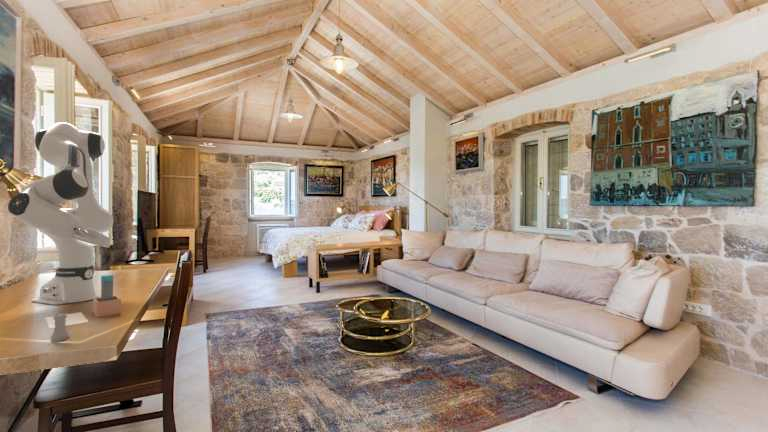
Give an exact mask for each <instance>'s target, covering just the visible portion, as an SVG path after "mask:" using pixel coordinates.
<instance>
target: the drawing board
mask: <svg viewBox="0 0 768 432" xmlns="http://www.w3.org/2000/svg"><path fill="white" fill-rule="evenodd" d="M66 315H67V317H66V319H65V320H66V322H65V325H66V327H68V326H71V325H73V326H74V325H79V324H84V323H85V324H87V323H89V320H88V319H87V318H86V317H85V315H84V314H83V313H82V311H80V312H72V313H67V314H66ZM54 316H55V315H54ZM54 316H47V317H45V321H46V323H47V325H48V328H49V329H55V324H54V322H55V320H54V319H53V317H54Z"/></svg>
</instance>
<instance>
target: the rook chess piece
mask: <svg viewBox="0 0 768 432" xmlns="http://www.w3.org/2000/svg"><path fill="white" fill-rule="evenodd" d="M66 317H67V315H66V312H61V313H55V314H54V317H53V319H54V320H55V322H54V324H55V328H53V329H54V330H53V333H52V334H51V336H50V338H51V339H50V342H51V343H54V344H55V343H62V342H66V341H67V340H65V339H68V338H69V337H70V332H69V331H68V329H67V326H66V325H65V322H66V320H65V319H66Z"/></svg>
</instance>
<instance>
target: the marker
mask: <svg viewBox="0 0 768 432" xmlns="http://www.w3.org/2000/svg"><path fill="white" fill-rule="evenodd" d="M114 277H115V275H114V274H103V275H101V276H100V286H101V287H100V288H101V289H100V292H101V293H100V298H101V301H107V300H113V296H114V280H115V278H114Z"/></svg>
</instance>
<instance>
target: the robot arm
mask: <svg viewBox="0 0 768 432" xmlns="http://www.w3.org/2000/svg"><path fill="white" fill-rule="evenodd" d="M34 145H35V147H36V150H37V151H38V153H39V155H40V157H41V158H42V159H43V160H44V161H45V162H47V163H48V164H50V165H52V166H56V167H59V171H57V172H54V173H53V174H52V173H51V174H50V175H47V176H45V177H43V178H40V179H37V180H34V181H33V182H31V183H28V184H25V185H24V186H23V187H22V189H21V192H19V193H16V194H15V195H14V196H12V197H11V199H10V200H9V202H8V204H7V209H8V212H9V213H10V215H11V216H12V217H14V218H15V219H16V220H18V221H20V222H21V223H23V224H25V225H28V226H30V227H32V228H34V229H37V230H38V231H39V232H40V233H41V234H43V235H45V236H47V237H49V238H50V239H51V241H53V243H54V244H55V246H56V248H57V251H58V266H59V267H57V268H55V269H52V270H53V273H55V274H54V276H53V277H52V278H50V279H49V280H48V281H47V282H45V283H44V284H43V285H42V286H41V287H40V289H39V296H37V297H35V298H32V299H31V303H39V304H46V305H55V306H57V305H65V304H73V303H77V302H78V303H79V302H85V301H90V300H93V299H94V298H99V297H98V294H97V290H96V286H95V279H94V273H95V266H94V263H93V260H94V259H93V258H94V257H93V254H94V253H93V248H92V246H91V245H95V246H98V247H102V248H103V247H104V248H107V249H108V248H110V247H111V246H112V245H111V244H112V243H110V242H109V241H110V238H109V236H107V235H105V234H103V233H106V232H109V231H110V230H111V229H112V227H113V225H114V217H113V215H112V213H111V212H110V211H109V210H107V209H106V208H104V207H103V206H102V205H101V204H100V203H99V202H98V201H97V199H96V196H95V193H94V187H93V186H94V185H93V183H94V182H93V178H94V177H93V167H92V162H95V160H96V159H97V158H100V157H101V156H102V155H103V154H104V151H105V148H106V144H105V140H104V138H103V136H102V135H101V134H99V133H98V132H93V131H85V130H78V128H77V127H76V126H74V125H73V124H71V123H68V122H56V123H54V124H53V123H52V125H50V126H49V128H42V129H39V130H38V131H36V133H35V136H34ZM71 201H72V202H75V203H76V204H77V208H76V207H73V208H72V207H71V208H70V207H69V208H68V207H65V208H64V207H63V208H62V207H61V205H63V204H65V203H68V202H71ZM90 244H91V245H90Z"/></svg>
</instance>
